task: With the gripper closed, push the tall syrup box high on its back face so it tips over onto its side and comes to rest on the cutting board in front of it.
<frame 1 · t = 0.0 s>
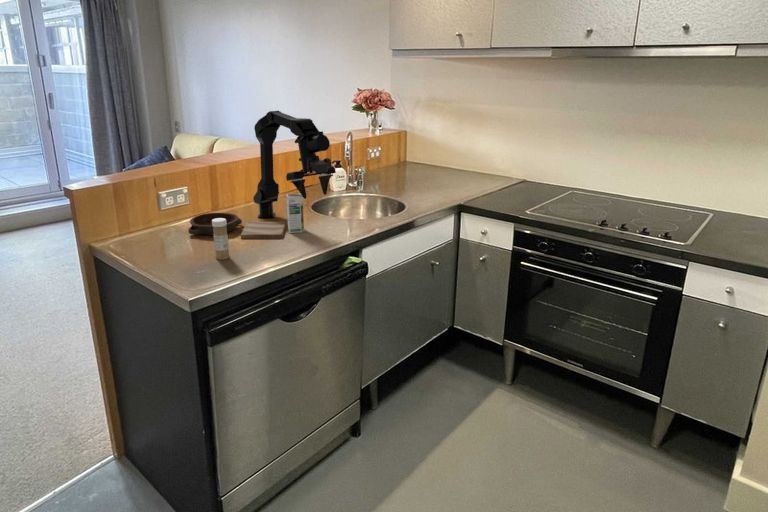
hand: (315, 196, 194), 15 cm above the worktop, tool pointing down, fingers open, 9 cm apart
dish: (215, 231, 204), on the worktop
cutting board: (264, 231, 203), on the worktop
sprinkles bottle: (222, 258, 177), on the worktop
syrup box: (295, 231, 205), on the worktop
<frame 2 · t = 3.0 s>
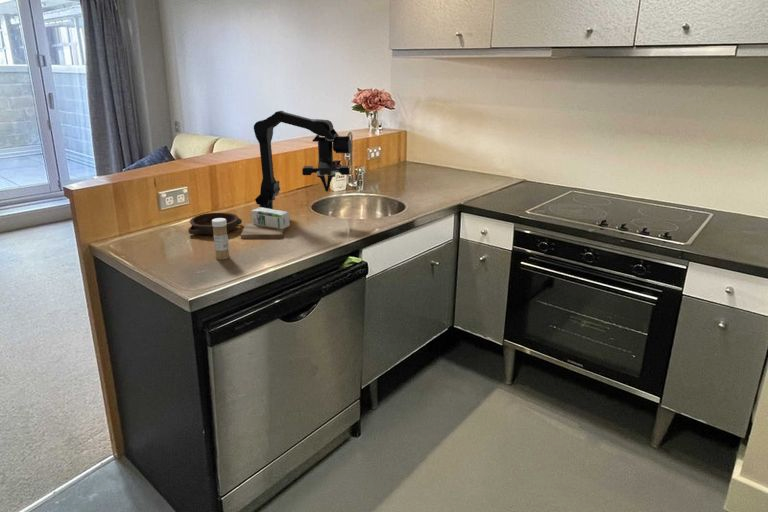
hand: (326, 191, 214), 13 cm above the worktop, tool pointing down, fingers closed
syrup box: (286, 220, 203), point 4 cm above the worktop, touching cutting board
everything else where it was.
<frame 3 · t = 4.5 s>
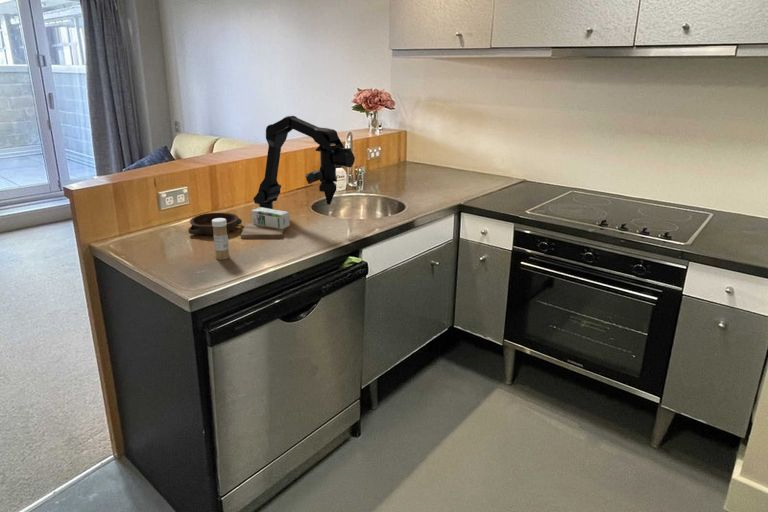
hand: (328, 204, 202), 11 cm above the worktop, tool pointing down, fingers closed
nothing on the worktop moved.
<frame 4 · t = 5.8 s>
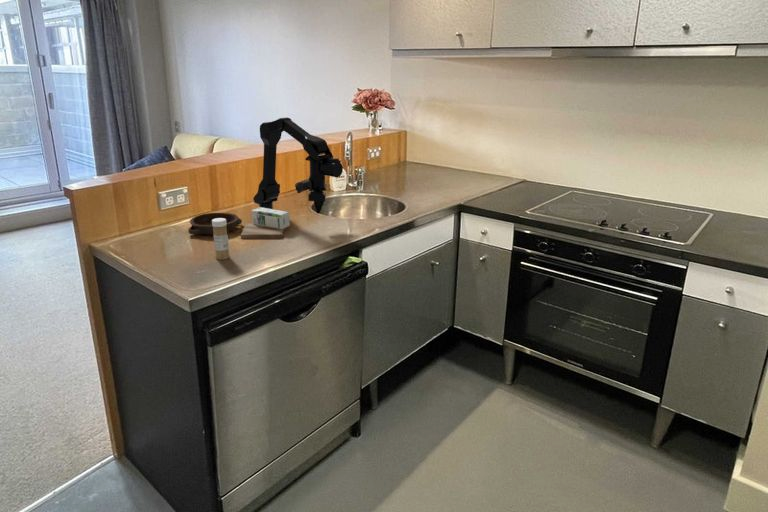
hand: (318, 213, 203), 7 cm above the worktop, tool pointing down, fingers closed
nothing on the worktop moved.
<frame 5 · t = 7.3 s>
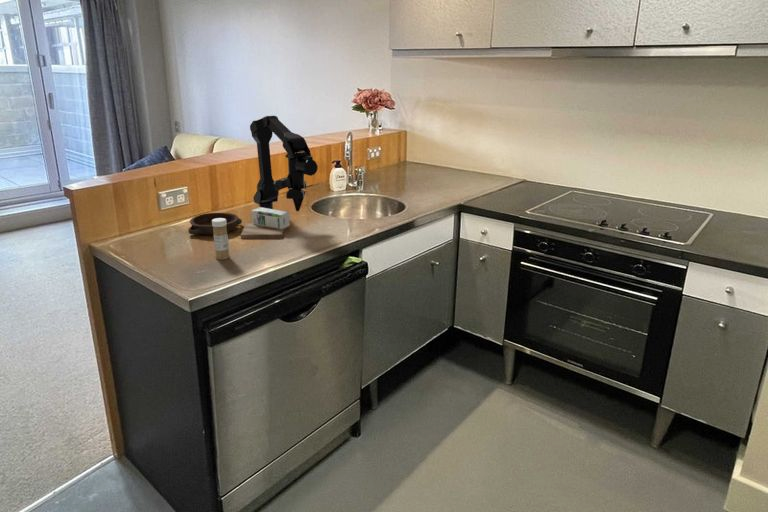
hand: (297, 211, 202), 8 cm above the worktop, tool pointing down, fingers closed
nothing on the worktop moved.
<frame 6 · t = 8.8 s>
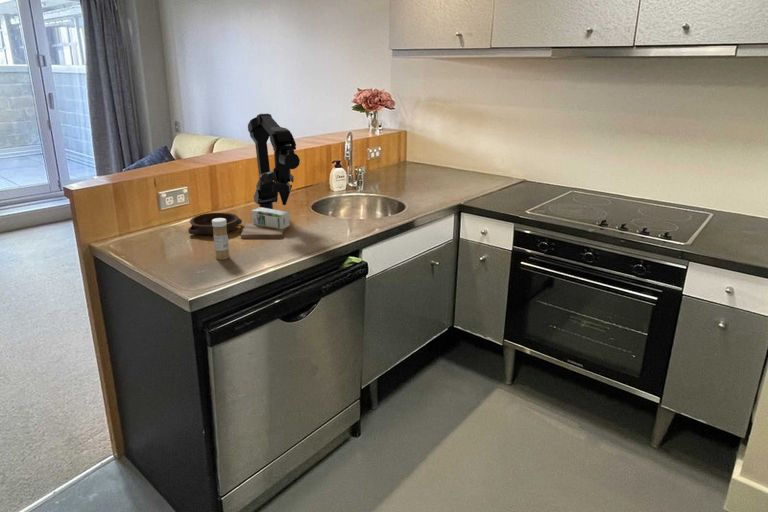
hand: (284, 204, 201), 10 cm above the worktop, tool pointing down, fingers closed
nothing on the worktop moved.
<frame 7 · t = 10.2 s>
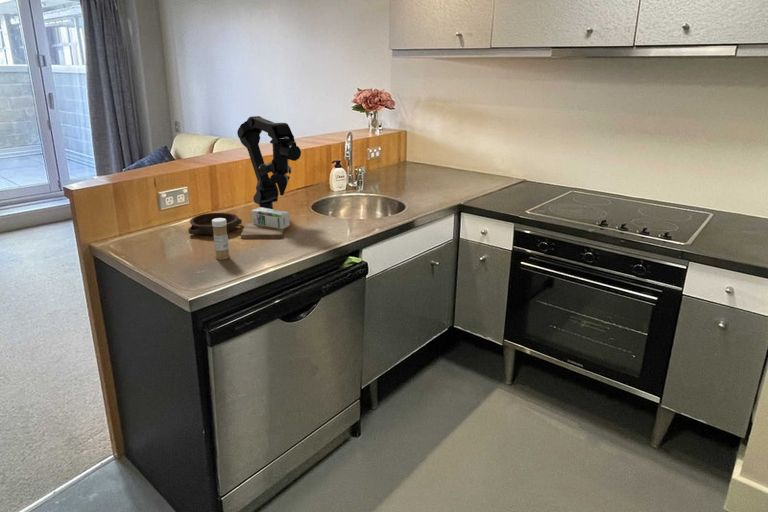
hand: (281, 195, 209), 12 cm above the worktop, tool pointing down, fingers closed
nothing on the worktop moved.
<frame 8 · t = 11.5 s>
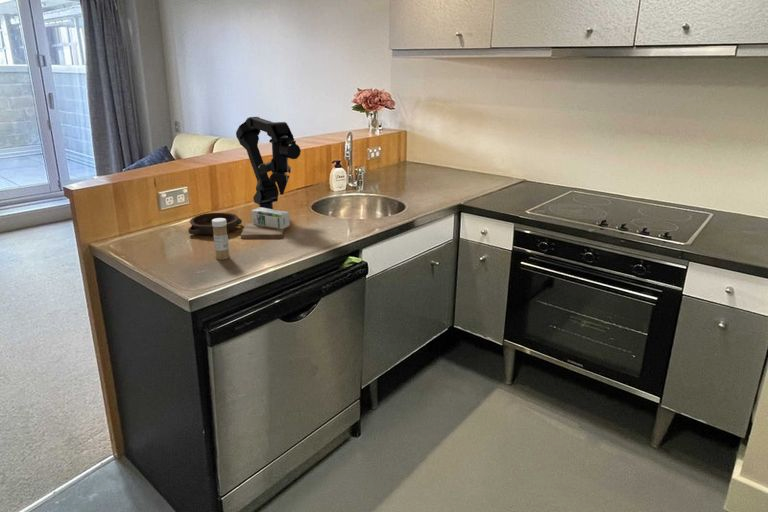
hand: (281, 194, 210), 12 cm above the worktop, tool pointing down, fingers closed
nothing on the worktop moved.
at the end: syrup box tilted 90°; syrup box touching cutting board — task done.
